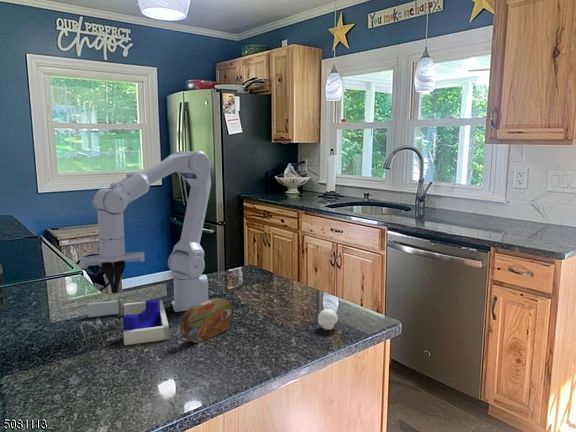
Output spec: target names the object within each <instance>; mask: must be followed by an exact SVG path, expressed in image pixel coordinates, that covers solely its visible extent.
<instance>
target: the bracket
mask: <svg viewBox="0 0 576 432" xmlns="http://www.w3.org/2000/svg"><path fill="white" fill-rule="evenodd" d="M157 300H158V301H160V323H159V324H160V326H159V325H157V326H155V327H150V328H142V329H134V330H126V331H124V330H123V345H124V346H128V345H135V344H144V343H151V342H158V341H159V342H160V341H165V340H170V326H169V322H168V317H167V314H166V310H165V306H164V303H163V299H157ZM146 301H147V300H145V301H138V302H129V303H128V302H127V303H123V316H125V315H126V314H128V315H139V314H140V313H141V312H143V311H145V309H146Z"/></svg>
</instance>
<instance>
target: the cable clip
mask: <svg viewBox="0 0 576 432" xmlns="http://www.w3.org/2000/svg"><path fill="white" fill-rule="evenodd" d="M158 300H159V299H157V300H155V299H148V300H145V301H146V309H145V311H143V312H141V313H140V314H137V315H128V314H126V315H125V316H124V315H123V316H122V321H123V322H122V323H123V326H122V327H123V332H124V331H126V330H134V329H142V328H150V327H157V326H159V324H161V323H160V301H158Z"/></svg>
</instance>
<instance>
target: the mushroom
mask: <svg viewBox="0 0 576 432" xmlns="http://www.w3.org/2000/svg"><path fill="white" fill-rule="evenodd" d="M338 319H339V318H338V314H337V313H336V312H335V311H334V310H333V309H330V308H326V309H325V308H324V309H323V310H321V311H320V312H319V313H318V317H317V322H318V324H319V326H321V328H322V329H323V330H327V331H328V330H332V329H333V328H334V327H335V324H337V322H338Z"/></svg>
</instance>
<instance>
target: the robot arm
mask: <svg viewBox="0 0 576 432" xmlns="http://www.w3.org/2000/svg"><path fill="white" fill-rule="evenodd" d="M211 168H212V161H211V160H210V157H209V156H208V155H207V153H205V152H204V151H201V150H196V151H183V150H179V151H176V152H175V153H172V154H170V155H168V156H167V157H166V158H165V159H163V160H162V161H160V162H158V163H157V164H156V165H154V166H152V167H151V168H148V169H147V170H145V171H144V172H143V173H140V172H138V171H137V172H128V173H126V174H125V176H126V177H125V178H122V179H121V180H119V181H117V182H111V183H110V184H109V185H110V186H109V188H107V187H104V188H101V189H98V190H97V191H96V192H95V194H94V196H93V199H92V200H91V203H92V207H93V208H94V209H95V210H96V212H97V225H98V227H97V228H98V229H97V230H98V243H99V254H96V255H90V256H83V257H79V265H80V268H85V267H88V266H90V267H91V266H99V265H101V269H102V271H103V272H104V274H105V276H106V278H107V280H108V284H109V286H110V290H111V294H115V293H116V294H118V292H119V285H120V282H121V278H122V276H123V273H124V272H125V269H126V263H130V262H132V263H133V262H145V252H144V251H139V252H126V249H125V248H126V247H125V245H126V243H125V225H124V223H125V221H124V211H126V210H127V209H126V208H127V207H128V204H130V203H132V202H133V201H135V200H137V199H138V198H140V197H142V196H144V195H145V194H147V193H148V192H149V190H150V186H151V185H152V184H154V183H156V182H158V181H160V180H162V179H163V178H166V177H167V176H169V175H171V174H173V173H177V174H178V175H180V176H181V177H182V178H183V179H185V180H186V182H187V183H188V185H189V186H190V188H189V189H190V190H189V193H188V194H189V195H188V199H187V204H186V209H185V214H184V220H183V226H182V230H181V235H180V238H179V239H180V240H179V241H178V242H177V243H176V244H174V245H173V249H172V252H171V253H170V255H169V257H168V261H167V267H168V268H169V270H171V271H172V275H173V297H174V298H173V301H171V305H172V307H173V308H172V309H173V311H174V312H175V313H177V312H186V311H187V310H188V309H189V308H191V307H193V306H195V305H198V304H201V303H203V302H206V301H209V282H208V277H207V274H202V273H203V272H204V270H205V267H206V266H205V265H206V264H205V259H204V258H205V251H204V249H203V247H202V246H201V244H200V243H201V238H202V234H203V228H204V224H205V220H206V219H205V218H206V213H207V208H208V203H209V199H210V193H211V187H212V177H211V176H212V175H211Z"/></svg>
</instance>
